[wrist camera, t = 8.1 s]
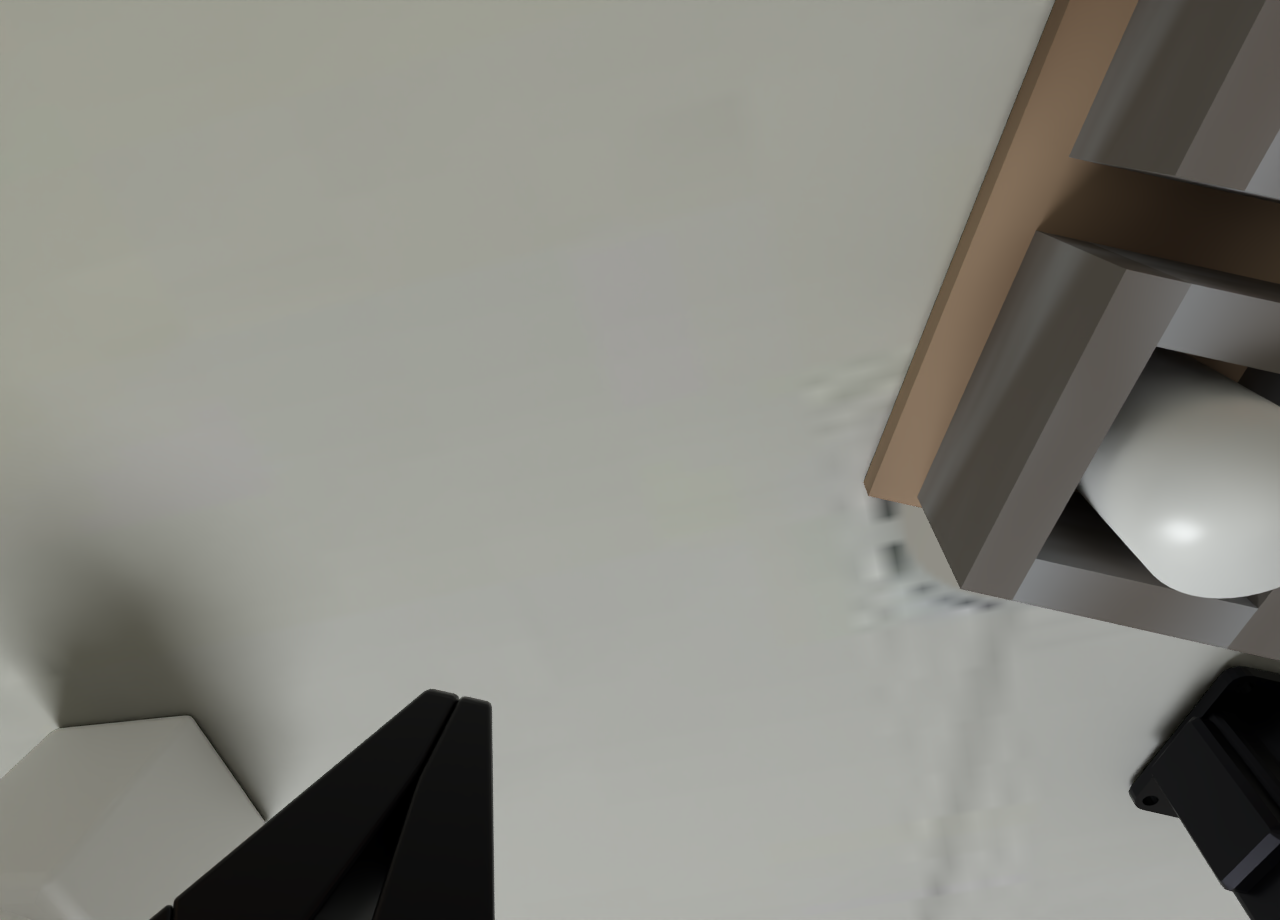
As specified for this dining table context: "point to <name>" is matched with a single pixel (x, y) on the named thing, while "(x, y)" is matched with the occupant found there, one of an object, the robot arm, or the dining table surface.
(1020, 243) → the double box holder
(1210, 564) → the white short rounded cylinder
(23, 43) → the dining table surface
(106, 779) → the medicine bottle
